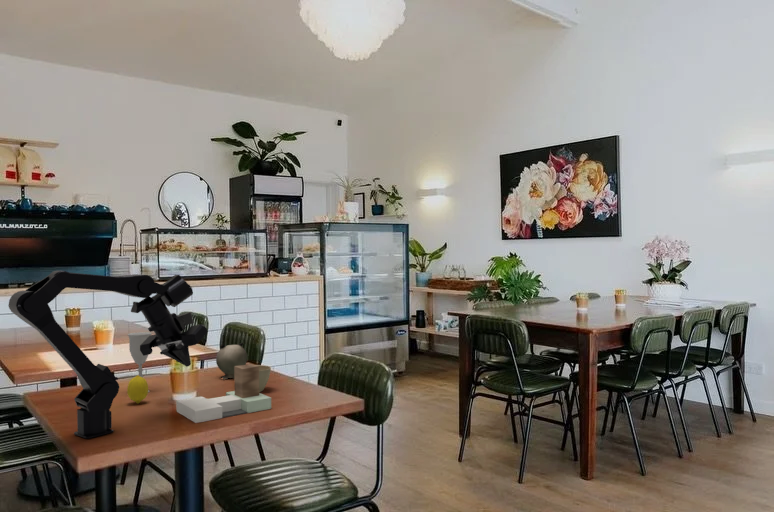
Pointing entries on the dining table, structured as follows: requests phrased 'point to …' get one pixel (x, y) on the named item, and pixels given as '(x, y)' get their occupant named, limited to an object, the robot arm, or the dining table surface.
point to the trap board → (221, 406)
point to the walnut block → (246, 380)
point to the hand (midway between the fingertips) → (188, 365)
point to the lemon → (137, 389)
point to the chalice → (138, 348)
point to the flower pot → (263, 376)
